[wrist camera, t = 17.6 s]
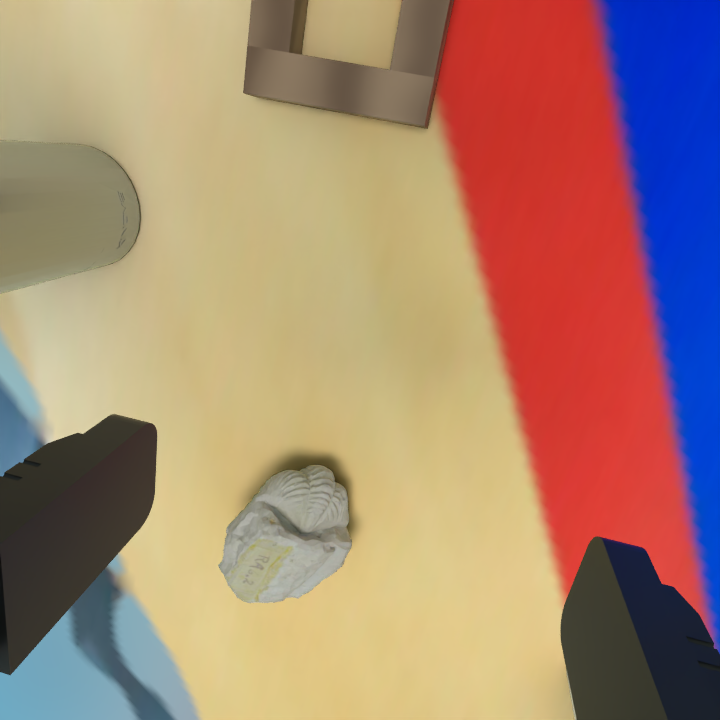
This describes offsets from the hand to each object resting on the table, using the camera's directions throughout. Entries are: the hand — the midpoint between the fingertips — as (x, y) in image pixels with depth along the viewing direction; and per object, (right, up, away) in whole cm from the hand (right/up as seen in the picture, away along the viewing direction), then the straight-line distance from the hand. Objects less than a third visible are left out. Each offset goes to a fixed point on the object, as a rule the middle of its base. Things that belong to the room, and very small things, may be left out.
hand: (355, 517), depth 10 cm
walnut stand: (0, +25, +25) cm, 36 cm away
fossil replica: (-5, -10, +39) cm, 41 cm away
